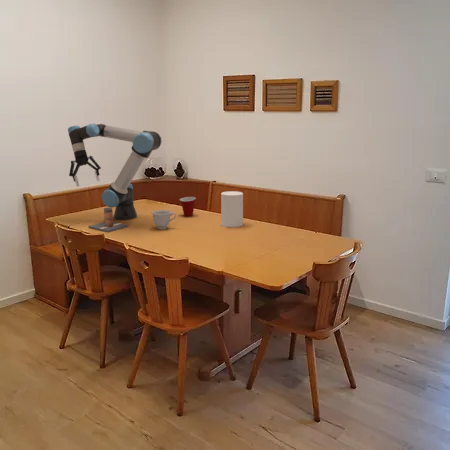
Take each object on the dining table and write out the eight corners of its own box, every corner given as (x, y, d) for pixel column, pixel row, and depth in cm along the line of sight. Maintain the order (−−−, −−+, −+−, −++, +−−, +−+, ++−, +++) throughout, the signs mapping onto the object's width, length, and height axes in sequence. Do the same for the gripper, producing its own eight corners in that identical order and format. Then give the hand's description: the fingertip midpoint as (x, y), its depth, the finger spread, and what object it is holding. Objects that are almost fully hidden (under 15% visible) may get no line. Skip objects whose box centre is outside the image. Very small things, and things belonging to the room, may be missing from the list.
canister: (234, 228, 297) (234, 196, 292) (217, 225, 305) (216, 193, 300) (247, 223, 307) (247, 192, 302) (229, 220, 315) (229, 190, 310)
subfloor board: (108, 222, 312) (108, 220, 311) (128, 226, 301) (128, 224, 301) (88, 227, 299) (88, 225, 299) (108, 232, 289) (108, 230, 289)
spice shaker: (109, 224, 302) (108, 207, 299) (115, 225, 299) (114, 208, 297) (103, 226, 298) (102, 208, 295) (109, 227, 295) (108, 209, 293)
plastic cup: (177, 214, 332) (177, 197, 329) (192, 213, 336) (192, 196, 333) (183, 218, 323) (182, 200, 320) (198, 216, 327) (198, 199, 324)
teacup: (175, 230, 293) (174, 214, 290) (150, 230, 293) (149, 214, 290) (177, 225, 304) (177, 209, 302) (153, 225, 305) (153, 209, 302)
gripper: (100, 146, 309) (108, 178, 311) (63, 156, 311) (71, 188, 312) (96, 145, 302) (105, 178, 303) (58, 155, 304) (67, 188, 305)
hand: (88, 183), depth 308 cm, fingers open, 13 cm apart
